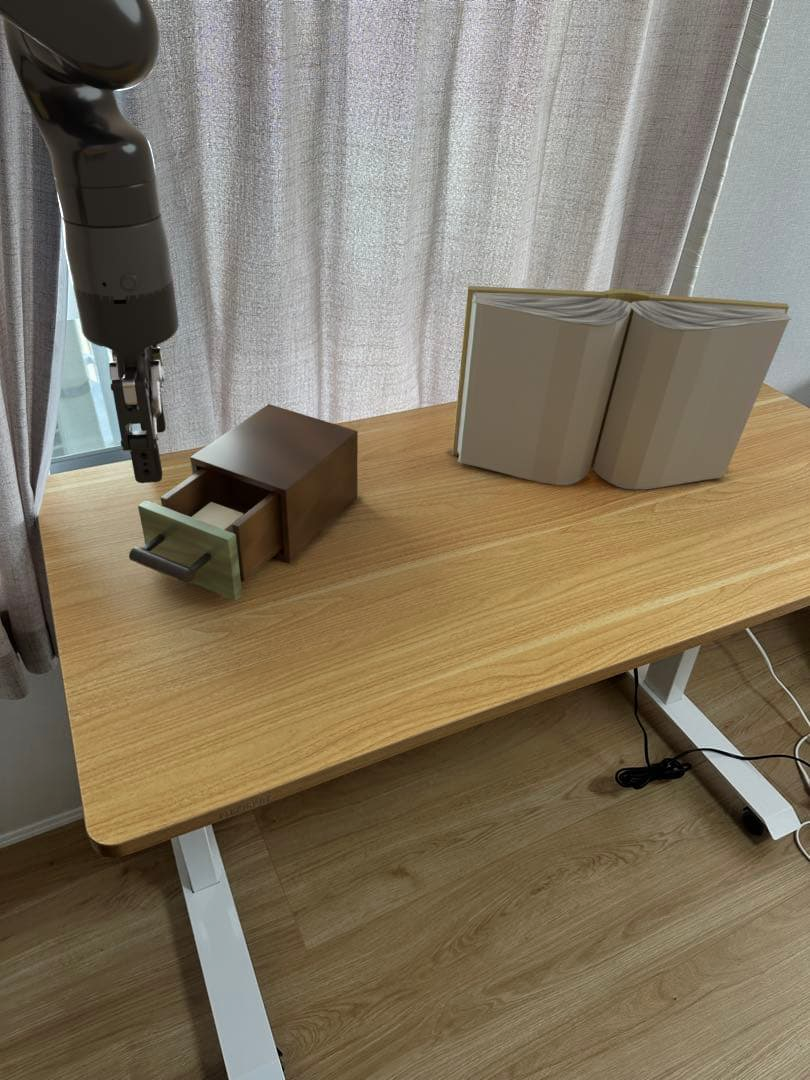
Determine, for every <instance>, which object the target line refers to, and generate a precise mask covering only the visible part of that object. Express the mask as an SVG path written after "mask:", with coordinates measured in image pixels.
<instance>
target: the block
mask: <svg viewBox="0 0 810 1080" xmlns="http://www.w3.org/2000/svg"><path fill="white" fill-rule="evenodd" d="M243 515H244V514H243V513H240V512H238V511H235V510H232V509H230V508H227V507H224V506H221V505H219V504H216V503H213V502H210V503H209V504H208V505H206V506H205V507H204V508H202V509H201V510H200V511H198V512H197V513H196V514H194V515H193V516H192V518H194V519H197V520H200V521H202V522H205V523H207V524H210V525H213V526H215V527H218V528H221V529H223V530H226V531H228V532H231V533H233V526H232V525H233V524H234V523H235V522H236V521H237V520H238V519H240V518H241V517H242V516H243Z"/></svg>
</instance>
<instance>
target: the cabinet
mask: <svg viewBox="0 0 810 1080" xmlns="http://www.w3.org/2000/svg"><path fill="white" fill-rule="evenodd" d="M358 434H359V433H358V430H355V429H353V428H349V427H346V426H343V425H339V424H336V423H333V422H330V421H326V420H323V419H320V418H316V417H313V416H310V415H306V414H303V413H300V412H296V411H294V410H290V409H287V408H284V407H283V408H282V407H280V406H278V405H274V404H270V403H268V404H267V405H265V406H264V407H262V408H260V409H259V410H258V411H257V412H254V413H253V414H252V415H250V416H248V417H247V418H246V419H245V420H242V421H241V422H239V423H238V424H236V426H234V427H232V428H230V430H228V431H226V432H225V433H223V434H222V435H220V436H219V437H218V438H215V440H213V441H212V442H210V443H209V444H207V445H206V446H205V447H203V448H201V449H200V450H198V451H197V452H196V453H194V454H192V455H191V456H190V457H189V458H190V466H191V474H192V475H193V474H195V473H196V472H197V471H199V470H200V469H202V468H206V469H209V470H212V471H215V472H218V473H220V474H223V475H226V476H229V477H232V478H235V479H238V480H240V481H243V482H246V483H249V484H252V485H255V486H258V487H260V488H263V489H266V490H269V491H272V492H275V493H277V494H280V498H281V514H282V529H283V544H284V547H283V548H282V549H281V550H280V551H279V552H277V553H276V554H275V555H274V556H273V557H275V558H277V559H280V560H283V561H285V562H287V563H292V562H293V560H295V559H296V558H297V557H299V555H301V553H302V552H303V551H305V549H306V548H307V547H308V546H310V545H311V544H312V543H313V542H314V541H315V540H316V539H317V538H318V537H319V536H320V535H321V534H323V532H324V531H325V530H326V529H328V527H330V526H331V525H332V524H333V523H334V522H335V521H336V520H337V519H338V518H339V517H340V516H341V515H342V514H343V513H345V511H347V509H348V508H349V507H351V506H352V505H353V504H354V503H355V502H356V501H357V500H358V452H359V451H358V450H359V449H358V446H359V445H358V444H359V443H358V440H359V439H358V438H359V437H358V436H359V435H358Z"/></svg>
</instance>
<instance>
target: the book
mask: <svg viewBox="0 0 810 1080" xmlns="http://www.w3.org/2000/svg"><path fill="white" fill-rule="evenodd" d="M466 292H467V294H466V302H465V312H464V313H465V314H464V324H463V334H462V345H461V354H460V355H461V356H460V364H459V365H460V366H459V376H458V377H459V378H458V386H457V397H456V408H455V418H454V419H455V420H454V428H453V429H454V431H453V438H452V440H453V441H452V448H451V449H452V451H451V455H452V456H456V457H457V456H458V459H457V460H456V463H460V464H464V465H467V466H472V467H475V468H480V469H484V470H488V471H492V472H496V473H499V474H502V475H503V474H504V475H508V476H511V477H514V478H519V479H522V480H526V481H531V482H535V483H539V484H542V485H551V486H569V485H573V484H576V483H578V482H579V481H581V480H582V479H584V478H585V477H586V476H587V475H588V474H589V472H590V470H591V469H592V470H593V472H594V473H595V474H596V475H597V476H598V477H599V478H601V479H602V480H604V481H605V482H606V483H608V484H610V485H611V486H614V487H616V488H618V489H619V488H620V489H624V490H628V491H629V490H630V491H640V490H642V491H643V490H653V489H659V488H666V487H671V486H678V485H685V484H690V483H696V482H701V481H708V480H715V479H722V478H726V477H728V476H727V474H726V473H727V471H728V469H729V466H730V463H731V461H732V458H733V457H734V454H735V452H736V449H737V446H738V444H739V442H740V440H741V437H742V434H743V433H744V429H745V428H746V425H747V423H748V420H749V418H750V415H751V413H752V410H753V408H754V406H755V403H756V401H757V398H758V396H759V393H760V392H761V389H762V387H763V384H764V381H765V379H766V376H767V374H768V371H769V370H770V368H771V364H772V362H773V360H774V358H775V355H776V353H777V350H778V347H779V345H780V343H781V340H782V338H783V335H784V333H785V330H786V328H787V326H788V324H789V321H790V320H791V321H792V320H793V318H792V317H790V316H789V315H787V313H788V310H789V308H790V306H789V304H788V303H782V302H769V301H756V300H755V301H754V300H742V299H740V300H739V299H727V298H715V297H714V298H713V297H712V298H711V297H700V296H699V297H698V296H685V295H673V294H672V295H669V294H657V293H648V292H645V291H641V290H635V289H628V288H627V289H626V288H613V289H607V290H604V291H598V290H596V291H595V290H575V289H550V288H529V287H528V288H526V287H505V286H504V287H503V286H479V285H467V291H466Z"/></svg>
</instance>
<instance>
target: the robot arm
mask: <svg viewBox="0 0 810 1080" xmlns="http://www.w3.org/2000/svg"><path fill="white" fill-rule="evenodd" d="M0 16H1V18H2V26H3V33H4V34H3V35H4V38H5V43H6V47H7V50H8V53H9V57H10V61H11V63H12V67H13V68H14V71H15V74H16V77H17V79H18V81H19V85H20V86H21V89H22V91H23V95H24V97H25V99H26V102H27V104H28V107H29V109H30V112H31V114H32V117H33V119H34V122H35V124H36V126H37V128H38V131H39V133H40V135H41V137H42V139H43V140H44V143H45V145H46V147H47V150H48V153H49V156H50V161H51V169H52V174H53V175H52V176H53V179H54V184H55V190H56V195H57V200H58V204H59V210H60V214H61V219H62V227H63V229H62V230H63V242H64V243H63V244H64V251H65V257H66V263H67V267H68V271H69V276H70V281H71V286H72V291H73V296H74V300H75V306H76V310H77V316H78V320H79V325H80V329H81V333H82V336H83V337H84V338H85V339H86V340H87V341H88V342H90V343H91V344H93V345H96V346H99V347H101V348H102V347H104V348H106V349H109V350H110V351H111V358H112V361H109V363H108V368H109V378H110V380H111V383H110V390H111V392H112V395H113V400H114V406H115V412H116V417H117V424H118V428H119V433H120V439H121V440H120V446H121V448H122V450H123V451H125V452H128V451H129V453H130V458H131V464H132V468H133V474H134V479H135V481H136V483H138V484H148V483H159V482H161V481H162V479H163V469H162V468H163V467H162V462H161V455H160V448H159V441H160V435H159V433H164V432H165V431H166V428H167V424H166V423H167V422H166V415H165V410H164V402H163V396H162V393H163V389H164V381H165V372H164V371H165V369H164V359H163V350H162V347H161V346H159V345H160V344H162V343H164V342H167V341H168V340H170V339H171V338H173V336H175V334H177V331H178V330H179V316H178V309H177V300H176V294H175V285H174V277H173V270H172V261H171V254H170V247H169V246H170V245H169V241H168V238H167V237H168V236H167V234H166V230H165V227H164V222H163V217H162V212H161V204H160V196H159V188H158V182H157V173H156V172H157V171H156V166H155V160H154V155H153V151H152V147H151V144H150V142H149V139H148V138H147V137H146V135H145V134H144V133H143V132H142V131H141V130H139V128H137V127H136V126H134V125H133V124H131V122H129V121H128V120H127V119H126V118H125V116H124V115H123V114H122V112H121V109H120V108H119V105H118V102H117V98H116V96H115V92H116V91H118V92H119V91H125V90H130V89H132V88H133V87H136V86H138V85H139V84H141V83H142V82H144V81H145V80H146V79H147V78H148V77H149V76H150V75H151V73H152V72H153V70H154V68H155V66H156V64H157V61H158V58H159V55H160V45H161V39H160V29H159V28H160V27H159V24H158V20H157V17H156V14H155V10H154V9H153V7H152V5H151V2H150V0H0ZM133 425H140V430H133Z"/></svg>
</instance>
